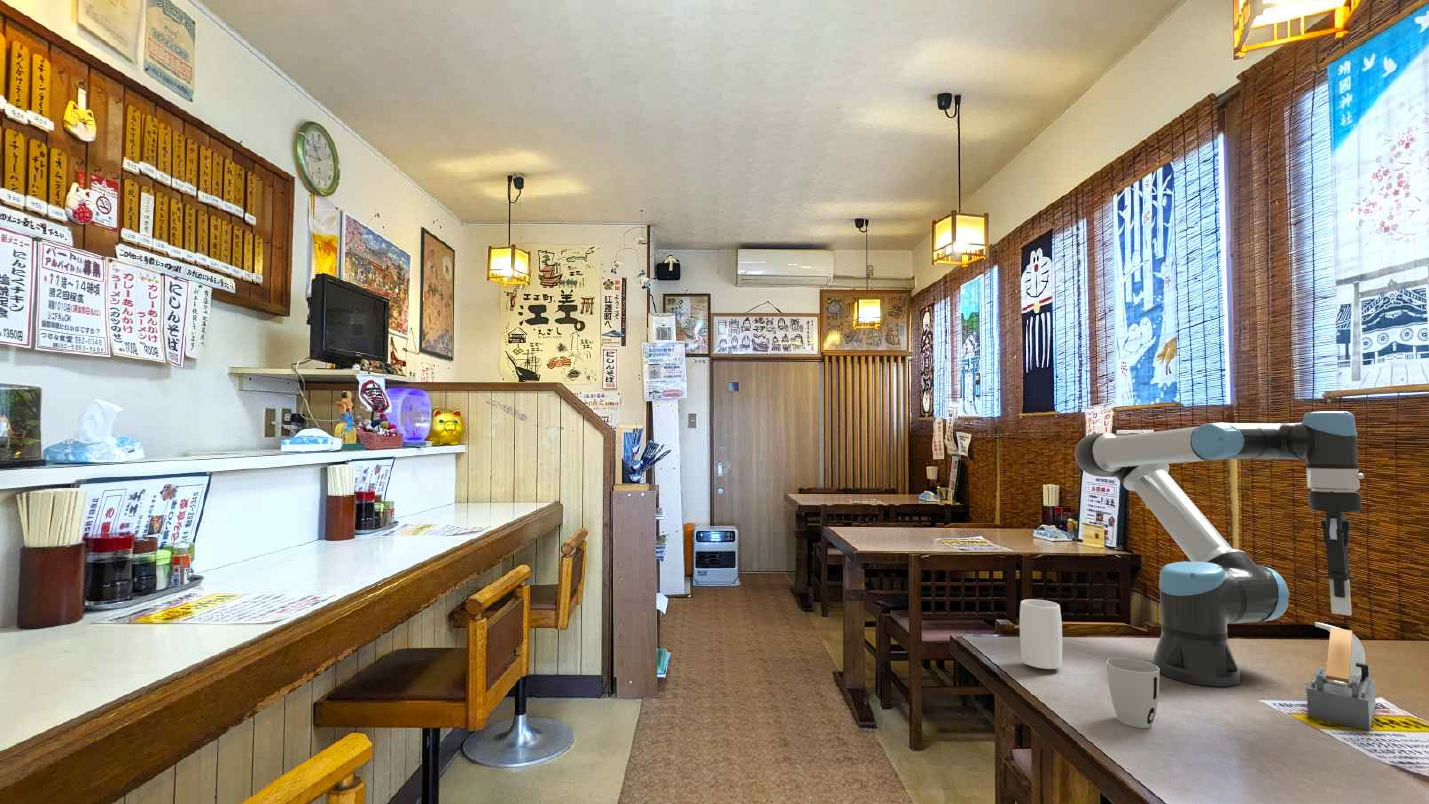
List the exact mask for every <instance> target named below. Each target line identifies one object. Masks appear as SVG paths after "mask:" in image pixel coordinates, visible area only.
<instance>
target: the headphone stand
mask: <svg viewBox="0 0 1429 804" xmlns="http://www.w3.org/2000/svg"><path fill="white" fill-rule="evenodd" d="M1314 626H1315V627H1316V628H1320V629H1324V630H1326V631H1328V632H1330V630H1331V628H1338V629H1342V628H1341V627H1337V626H1333V625H1330V624H1326V623H1322V622H1314ZM1343 629H1344V630H1346V629H1345V628H1343ZM1356 662H1357V663H1362V664H1366V652H1365V648H1364V646H1363V644H1362V641H1361V640H1360V639H1359V638H1358V636H1356V635H1355V634H1354V633H1353V632H1352V650H1351V665H1350V675H1355V676H1359V675H1361V667H1356Z"/></svg>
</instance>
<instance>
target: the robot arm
mask: <svg viewBox="0 0 1429 804" xmlns="http://www.w3.org/2000/svg"><path fill="white" fill-rule="evenodd" d="M1358 435H1359V434H1358V432H1357V427H1356V419H1355V416H1354V414H1353V413H1352V412H1349V411H1345V410H1343V411H1340V410H1339V411H1337V410H1335V411H1333V410H1332V411H1330V410H1329V411H1311V412H1306V413H1304V415H1303V419H1302V422H1293V423H1291V422H1290V423H1289V422H1287V423H1286V422H1282V423H1268V422H1266V423H1265V422H1264V423H1260V422H1259V423H1256V422H1255V423H1254V422H1252V423H1249V422H1248V423H1247V422H1245V423H1241V422H1240V423H1237V422H1233V423H1232V422H1220V421H1219V422H1216V421H1215V422H1210V423H1203V424H1201V425H1200V426H1199V425H1198V426H1190V427H1185V428H1174V429H1168V430H1160V431H1159V430H1158V431H1153V432H1143V433H1141V432H1129V433H1119V432H1118V433H1114V432H1113V433H1112V432H1110V433H1108V432H1107V433H1106V432H1105V433H1104V432H1100V433H1099V432H1097V433H1092V434H1088V435H1086V436H1085V437H1083V438H1081V439H1080V440H1079V441H1078V443H1077V444H1076V446H1075V448H1074V459H1075V461H1076V464H1077V465H1078V467H1079V468H1080V469H1081V470H1082V471H1083V472H1085V473H1087V474H1089V475H1091V476H1094V477H1099V478H1101V477H1103V478H1117V480H1118V481H1119V482H1120V483H1121V485H1122V486H1123V487H1124V488H1125V489H1126V490H1127V491H1129V492H1130V491H1131V492H1136V493H1137V495H1138V496H1139V497H1140V499H1141V500H1142V501H1143V503H1145V505H1146V506H1147V507H1148V509H1149V510H1150V511H1151V513H1152V514H1153V515H1154V516H1155V518H1156V519H1157V520H1158V522H1160V524H1161V525H1162V526H1163V527H1164V529H1165V530H1166V532H1167V533H1168V534H1169V535H1170V537H1171V538H1172V539H1173V540H1174V542H1175V543H1176V544H1177V545H1178V546H1179V548H1180V549H1181V550H1182V551H1183V553H1184V554H1185V555H1186V557H1187V558H1188V559H1189V560H1190V561H1176V562H1172V563H1171V562H1170V563H1168V564H1165V565H1164V566H1162V567H1161V569H1160V571H1159V580H1158V581H1159V582H1158V590H1159V607H1160V608H1159V609H1160V626H1161V629H1160V630H1161V633H1160V636H1159V640H1158V643H1157V644H1156V648H1155V651H1154V654H1153V656H1152V657H1153V658H1152V664H1154V665H1156V666H1157V667H1159V669H1160V673H1159V675H1162V676H1164V677H1165V676H1166V677H1168V678H1170V679H1173V680H1177V681H1181V682H1185V683H1189V684H1195V685H1199V686H1200V685H1201V686H1209V687H1234V686H1237V685H1239V684H1240V683H1241V675H1240V674H1241V672H1240V669H1239V666H1238V664H1237V661H1236V659H1235V657H1234V654H1233V651H1232V649H1231V648H1230V645H1229V639H1228V625H1229V624H1242V623H1243V624H1244V623H1246V624H1247V623H1255V624H1256V623H1259V624H1260V623H1264V622H1267V621H1273V620H1276V619H1278V618H1280V617H1281V616H1282V615H1284V614H1285V612H1286V611H1287V609H1288V607H1289V603H1290V602H1289V597H1290V592H1289V588H1288V586H1287V582H1286V581H1285V580H1284V578H1283V577H1282V576H1281V574H1280V573H1278V572H1277V571H1276V570H1274V569H1273V568H1269V567H1266V566H1263V565H1257V564H1256V563H1255V562H1254V561H1253V559H1252V558H1251V556H1249V555H1248V553H1246V551H1244V550H1242V549H1241V550H1240V549H1234V548H1233V547H1232V546H1231V545H1230V543H1228V541H1226V540H1225V538H1224V537H1223V535H1221V533H1220V532H1219V531H1218V530H1217V529H1216V527H1215V526H1214V525H1213V524H1212V523H1211V522H1210V520H1209V519H1207V517H1206V516H1205V515H1204V513H1202V511H1201V510H1200V509H1199V508H1198V507H1197V506H1196V504H1195V503H1194V501H1192V500H1191V499H1190V498H1189V496H1188V495H1187V494H1186V493H1185V492H1184V490H1183V489H1182V488H1181V487H1180V486H1179V485H1178V483H1177V482H1176V481H1175V480H1174V479H1173V478H1172V476H1171V475H1170V474H1169V471H1170V465H1169V464H1179V463H1180V464H1181V463H1192V462H1205V461H1207V462H1208V461H1211V462H1212V461H1213V462H1214V461H1225V460H1268V461H1269V460H1305V464H1306V468H1305V470H1306V474H1305V475H1306V485H1307V486H1306V487H1307V488H1309V489H1311V490H1309V492H1307V494H1308V495H1307V496H1308V497H1307V498H1308V508H1309V509H1311V510H1312V511H1318V512H1321V511H1322V512H1325V519H1322V520H1321V521H1320V525H1321V527H1320V528H1321V529H1322V532H1323V533H1322V534H1323V542H1324V543H1325V552H1326V561H1327V563H1326V564H1327V575H1326V574H1325V575H1323V576H1324V580H1325V579H1326V580H1329V593H1330V594H1329V595H1330V609H1331V614H1335V615H1343V616H1344V615H1345V616H1352V614H1353V613H1352V601H1351V586H1350V585H1351V584H1350V580H1355V576H1354V575H1350V573H1351V571H1350V565H1349V564H1350V561H1349V559H1350V557H1349V543H1350V542H1351V536H1350V535H1351V534H1350V530H1351V527H1352V525H1351V523H1352V522H1351V520H1346V515H1345V514H1346V513H1359V512H1362V509H1363V508H1362V507H1363V505H1362V494H1360V492H1357V491H1358V490H1359V489H1361V488H1360V487H1361V485H1360V483H1361V482H1360V480H1363V479H1364V478H1365V476H1364V474H1363V473H1359V471H1360V469H1359V460H1358V459H1359V458H1358V457H1359V456H1358Z"/></svg>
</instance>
